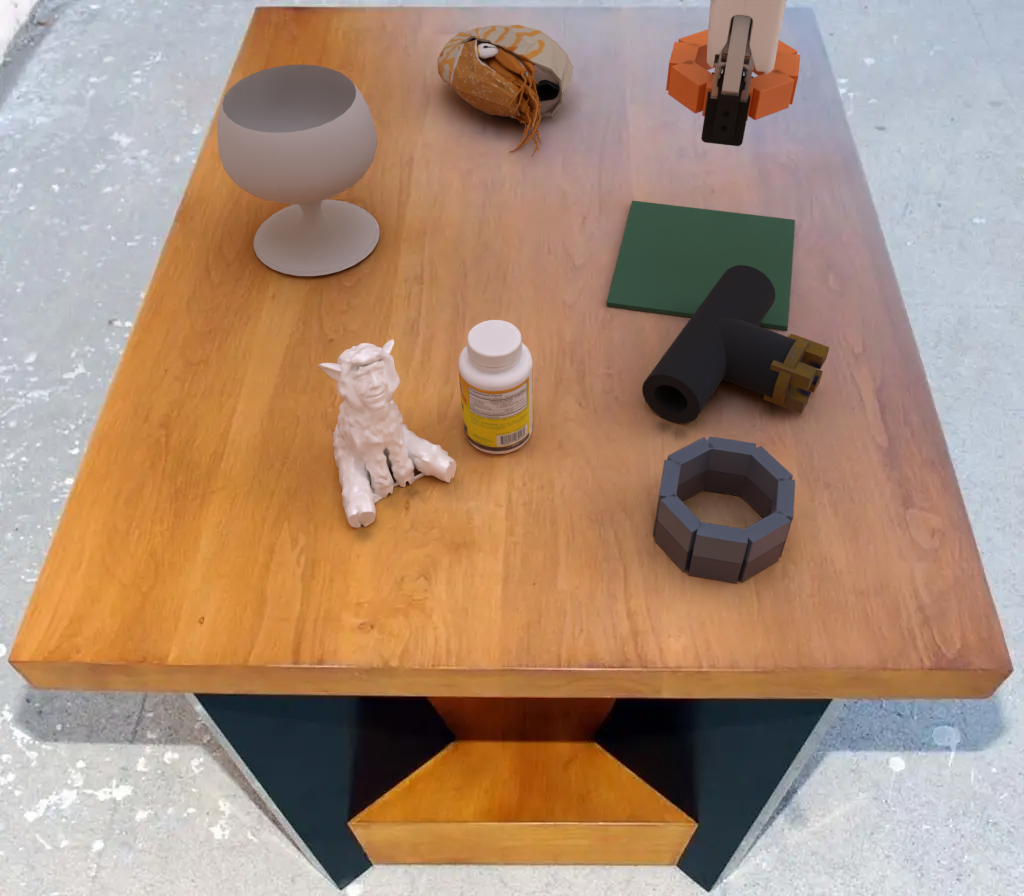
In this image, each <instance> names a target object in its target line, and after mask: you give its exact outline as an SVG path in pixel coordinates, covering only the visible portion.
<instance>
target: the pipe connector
mask: <svg viewBox="0 0 1024 896" xmlns="http://www.w3.org/2000/svg"><path fill="white" fill-rule="evenodd" d="M774 301H775V289H774V286H773V284H772V282H771V281H770V279H769V278H768V277H767V276H766V275H765V274H764V273H762V272H761V271H759V270H758V269H756V268H753V267H750V266H746V265H738V266H733V267H731V268H729V269H728V270H727V271H726V272H725V273H724V274H723V275H722V277H721V278H720V279H719V281H718V282H717V283H716V285H715V286H714V288H713V289H712V290H711V292H710V293H709V294H708V296H707V297H706V298H705V300H704V301H703V302H702V304H701V305H700V307H699V308H698V309H697V311H696V312H695V313H694V315H693V316H692V317H691V318H690V319H689V320H688V321H687V323H685V325H684V327H683V328H682V329H681V331H680V332H679V334H678V335H677V336H676V338H675V339H674V341H673V342H672V343H671V344H670V346H669V348H668V349H667V350H666V351H665V353H664V354H663V355H662V357H660V360H659V361H658V362H657V364H656V365H655V366H654V367H653V369H652V370H651V372H650V373H649V375H648V376H647V377H646V379H645V380H644V382H643V384H642V387H641V388H642V389H641V390H642V391H641V392H642V396H643V398H644V401H645V403H646V404H647V406H648V407H649V408H650V409H651V410H652V411H653V412H654V413H655V414H657V415H658V416H659V417H661V418H662V419H663V420H666V421H669V422H671V423H674V424H683V425H684V424H690V423H692V422H694V421H695V420H696V419H697V418H698V417H699V415H700V414H701V412H702V411H703V409H704V408H705V406H706V405H707V403H708V402H709V401H710V399H711V398H712V396H713V395H714V393H715V391H717V388H718V387H719V386H720V384H721V383H722V381H723V380H724V381H727V382H730V383H732V384H734V385H736V386H740V387H742V388H745V389H746V390H747V389H748V390H750V391H752V392H755V393H757V394H760V395H763V398H762V399H763V400H764V401H767V402H769V403H772V404H774V405H776V406H779V407H782V408H785V409H786V410H789V411H791V412H795V413H797V414H800V415H802V413H803V412H804V410H805V408H806V406H807V405H808V402H809V399H810V395H811V393H812V394H813V393H815V392H816V390H817V388H818V386H819V384H820V383H821V379H822V376H823V370H821V369H822V367H823V365H824V364H825V362H826V360H827V358H828V354H829V351H830V347H829V346H827V345H824V344H821V343H820V342H816V341H814V340H810V339H808V338H805V337H802V336H800V335H797V334H794V333H790V334H789V335H788V336H787V335H784V334H781V333H779V332H775V331H773V330H770V329H768V328H764V327H759V324H760V323H761V321H762V320H763V318H764V317H765V315H766V314H767V312H768V311H769V309H770V308H771V306H772V305H773V303H774Z"/></svg>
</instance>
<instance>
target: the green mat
mask: <svg viewBox="0 0 1024 896" xmlns="http://www.w3.org/2000/svg"><path fill="white" fill-rule="evenodd" d="M795 228H796V219H792V218H785V217H784V218H783V217H775V216H768V215H767V216H766V215H758V214H752V213H751V214H749V213H741V212H735V211H734V212H733V211H726V210H725V211H724V210H715V209H709V208H708V209H707V208H698V207H690V206H683V205H674V204H666V203H658V202H657V203H656V202H650V201H649V202H648V201H639V200H631V204H630V207H629V211H628V215H627V219H626V224H625V227H624V231H623V236H622V239H621V244H620V247H619V251H618V255H617V258H616V259H617V260H616V263H615V267H614V270H613V271H614V272H613V275H612V279H611V283H610V287H609V291H608V296H607V298H606V305H605V306H606V307H610V308H617V309H625V310H633V311H639V312H647V313H653V314H654V313H655V314H662V315H669V316H677V317H683V318H684V317H685V318H690V319H691V317H692V316H693V315H694V313H695V312H696V311H697V309H698V308H699V307H700V305H701V304H702V302H703V301H704V300H705V298H706V297H707V296H708V294H709V293H710V292H711V290H712V289H713V288H714V286H715V285H716V283H717V282H718V281H719V279H720V278H721V277H722V275H723V274H724V273H725V272H726V271H727V270H728V269H729V268H731V267H733V266H738V265H746V266H750V267H753V268H756V269H758V270H759V271H761V272H762V273H764V274H765V275H766V276H767V277H768V278H769V279H770V281H771V282H772V284H773V286H774V289H775V301H774V303H773V305H772V306H771V308H770V309H769V311H768V312H767V314H766V315H765V317H764V318H763V320H762V321H761V323H760V324H759V327H762V328H765V329H772V330H779V331H788V327H789V318H790V317H789V316H790V304H791V303H790V302H791V286H792V275H793V274H792V273H793V271H792V270H793V257H794V245H795V244H794V242H795V230H796V229H795Z"/></svg>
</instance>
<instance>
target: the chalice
mask: <svg viewBox="0 0 1024 896" xmlns="http://www.w3.org/2000/svg"><path fill="white" fill-rule="evenodd" d="M216 122H217V123H216V138H217V148H218V156H219V160H220V162H221V165H222V167H223V169H224V171H225V173H226V174H227V176H228V177H229V178H230V180H231V181H233V183H234V184H236V186H237V187H239V188H240V189H242V191H243V190H244V192H246V193H248V194H249V195H251V196H253V197H254V198H258V199H261V200H264V201H268V202H273V203H278V204H282V205H289V206H287V207H283V208H282V209H280V210H278V211H276V212H274V213H273V214H271V215H270V216H269V217H268V218H267V219H266V220H264V221H263V222H262V224H260V226H259V227H258V229H257V230H256V231H255V235H254V238H253V249H254V252H255V254H256V257H257V258H258V259H259V260H260V261H261V262H262V264H264V265H265V266H266V267H268V268H270V269H271V270H274V271H276V272H279V273H282V274H285V275H291V276H295V277H317V276H325V275H331V274H333V273H338V272H341V271H344V270H347V269H348V268H351V267H353V266H356V265H357V264H358V263H360V262H361V261H363V260H364V259H366V258H367V257H368V256H369V255H370V254H371V253H372V252H373V251H374V249H375V248H376V246H377V244H378V243H379V238H380V234H381V232H380V225H379V224H378V222H377V219H376V218H375V216H373V215H372V214H371V212H369V211H368V210H367V209H364V208H363V207H361V206H359V205H357V204H354V203H351V202H348V201H344V200H337V199H330V198H334V197H336V196H338V195H340V194H342V193H343V192H345V191H347V190H348V189H351V188H352V187H354V186H355V185H356V184H357V183H358V182H360V180H362V179H363V178H364V176H365V175H366V174H367V172H368V171H369V169H370V168H371V166H372V164H373V163H374V160H375V157H376V153H377V149H378V133H377V129H376V126H375V122H374V119H373V114H372V112H371V110H370V107H369V105H368V103H367V101H366V98H365V96H364V95H363V94H362V92H361V91H360V89H359V88H358V86H357V85H356V84H355V83H354V82H353V80H352V79H350V77H349V76H347V75H345V74H343V73H342V72H340V71H338V70H336V69H333V68H330V67H326V66H321V65H315V64H287V65H279V66H274V67H273V66H272V67H270V68H266V69H262V70H258V71H257V72H254V73H251V74H249V75H247V76H245V77H243V78H242V79H240V80H238V81H237V82H236V83H235V84H233V85H232V86H231V87H230V88H229V89H228V90H227V92H226V93H225V94H224V96H223V99H222V101H221V105H220V108H219V111H218V115H217V121H216Z"/></svg>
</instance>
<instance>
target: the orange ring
mask: <svg viewBox="0 0 1024 896" xmlns="http://www.w3.org/2000/svg"><path fill="white" fill-rule="evenodd" d="M673 43H674V44H673V47H672V51H671V54H670V58H669V62H668V69H667V77H666V85H665V91H668V92H667V94H668V96H669V97H671V98H673V100H675V101H677V102H678V103H679V104H681V105H682V106H683V107H685V108H686V109H688V110H689V111H691V112H692V113H694V114H698V113H701V116H702V117H705V110H706V103H707V97H708V92H711V91H712V85H713V78H714V75H713V74H712V72H710V70H713V69H715V65H714V68H711V67H710V66H709V65H708V63H707V43H708V28H707V29H704V30H702V31H698V32H695V33H692V34H689V35H687V36H683V37H680V38H678V41H674V42H673ZM746 57H747V56H746ZM800 64H801V54H798V50H796V48H794V47H792V46H790V45H788V44H786V43H785V42H783V41H782V40H781V39H779V43H778V48H777V53H776V59H775V65H774V69H773V70H772V71H771V72H770V73H768V74H764V72H760V71H756V68H755V65H754V69H753V71H752V74H755V75H756V76H753V78H751V82H750V88H749V93H748V96H751V99H750V105H749V110H748V115H747V121H748V119H749V118H751V119H752V120H753V121H757V120H760V119H763V118H765V117H768V116H771V115H773V114H775V113H779V112H781V111H783V110H787V109H788V108H789V107H790V105H793V103H794V99H795V93H796V89H797V84H798V80H799V76H800V75H799V73H800Z"/></svg>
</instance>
